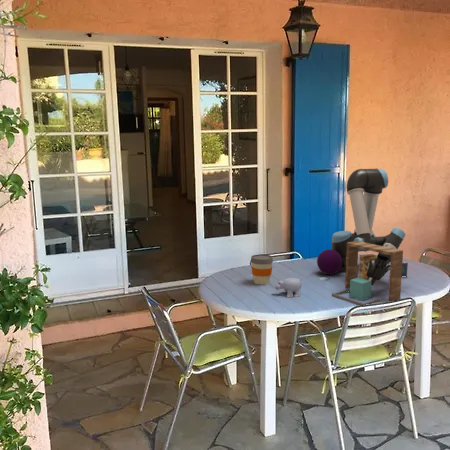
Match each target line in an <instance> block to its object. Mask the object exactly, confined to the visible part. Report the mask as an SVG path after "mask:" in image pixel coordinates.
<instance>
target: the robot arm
mask: <svg viewBox="0 0 450 450" xmlns="http://www.w3.org/2000/svg"><path fill="white" fill-rule="evenodd" d="M388 185H389V176H388V173H387V171H386V170H385V169H383V168H376V167H375V168H358V169H355V170H354V171H352V172H351V173H350V175H349V176H348V179H347V182H346V193H347V195H348V196H349V200H350V205H351V211H352V216H353V222H354V226H355V228H354V232H351V231H350V230H341V231H336V232H334V233H333V234H332V238H331V250H335V251H337V252H338V253H339V254H340V256H341V258H342V267H341V268H340V270H339V271H338V272H340V273H342V272H343V273H346V254H347V243H348V242H353V241H360V242H365V243H370V244H374V245H379V246H384V247H389V248H393V249H398V250H399V248H400V246H401V244H402V243H403V241H404V239H405V236H406V232H405V231H404V230H403V229H401V228H398V227H393V228H392V229H391V230H390V233H388V234H387V235H383V236H382V235H381V236H376V234H375V232H374V230H373V227H374V221H375V216H376V210H377V205H378V200H379V196H380V195H381V194H382V193H383V189H386V188H387V187H388ZM368 251H369V250H365V249H360V248H358V253H361V252H365V253H366V252H368ZM369 252H370V251H369ZM369 262H370V264H369V268H368V271H367V274H366V275H367V277H368V279H367V280H370V281H371V287H372V286H374V285H375V282H376V281H378V282H379V281H381V279H382V278H383V277H384V276H385V275H386V274H387V273H388V272H389V271H390V264H391V255H387V254H383V253H378V252H377V258H376V259H375V260H374V261H371V260H370V261H369ZM374 263H375V265H374ZM373 266H374V268H373ZM338 272H337V273H338Z"/></svg>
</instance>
